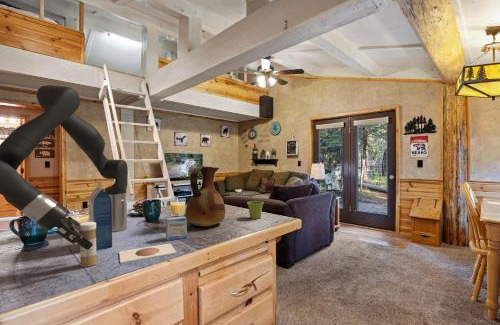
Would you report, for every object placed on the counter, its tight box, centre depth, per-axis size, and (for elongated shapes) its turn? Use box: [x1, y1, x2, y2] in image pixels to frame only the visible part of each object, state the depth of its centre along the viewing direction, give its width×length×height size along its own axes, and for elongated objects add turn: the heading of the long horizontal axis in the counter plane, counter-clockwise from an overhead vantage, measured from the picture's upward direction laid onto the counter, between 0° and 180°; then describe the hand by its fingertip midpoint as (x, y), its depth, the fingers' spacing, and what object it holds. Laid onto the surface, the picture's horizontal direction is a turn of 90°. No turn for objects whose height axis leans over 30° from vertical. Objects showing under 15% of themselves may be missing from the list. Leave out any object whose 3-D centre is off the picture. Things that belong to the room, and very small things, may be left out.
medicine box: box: [165, 216, 188, 242], centre depth 111 cm, size 8×4×9 cm, turn 117°
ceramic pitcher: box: [184, 165, 226, 227], centre depth 133 cm, size 20×20×30 cm
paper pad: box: [118, 243, 178, 264], centre depth 94 cm, size 11×18×1 cm, turn 118°
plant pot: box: [246, 200, 265, 220], centre depth 147 cm, size 9×9×9 cm
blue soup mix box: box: [88, 180, 113, 251], centre depth 103 cm, size 6×12×25 cm, turn 37°
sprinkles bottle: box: [79, 221, 97, 268], centre depth 84 cm, size 5×5×14 cm
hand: (91, 243), depth 84 cm, fingers open, 8 cm apart
